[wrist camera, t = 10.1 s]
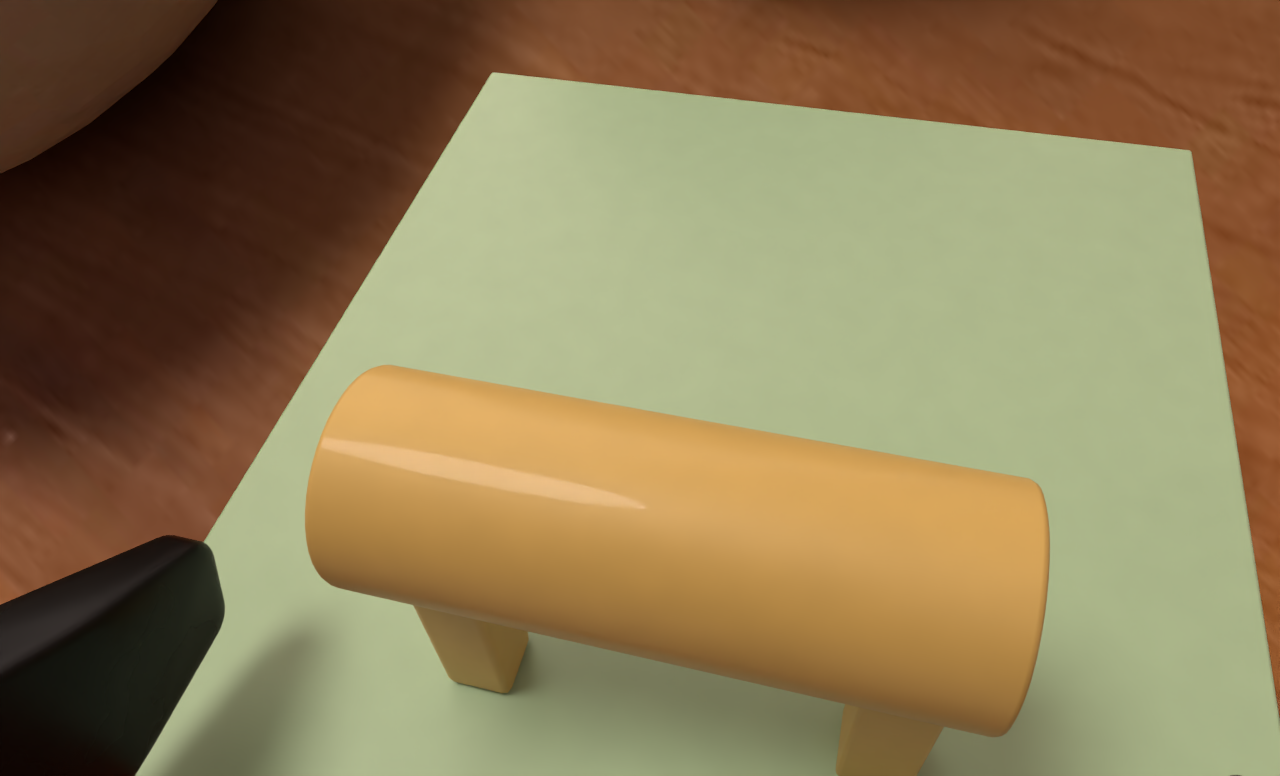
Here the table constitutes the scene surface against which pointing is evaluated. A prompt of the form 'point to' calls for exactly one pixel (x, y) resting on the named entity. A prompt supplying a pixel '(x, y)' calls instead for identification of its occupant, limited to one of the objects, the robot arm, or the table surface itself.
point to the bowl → (78, 62)
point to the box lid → (751, 467)
